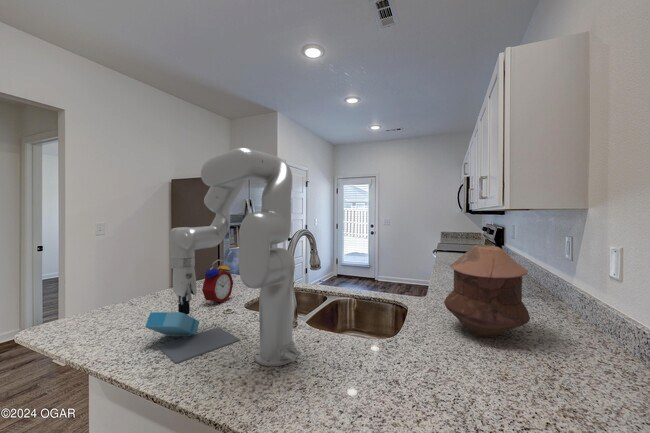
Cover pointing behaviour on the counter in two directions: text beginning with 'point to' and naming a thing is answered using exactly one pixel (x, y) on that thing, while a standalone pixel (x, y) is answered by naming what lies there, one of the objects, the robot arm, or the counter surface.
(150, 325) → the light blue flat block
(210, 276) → the alarm clock
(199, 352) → the rubber mat
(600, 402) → the counter surface
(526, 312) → the pottery vessel
